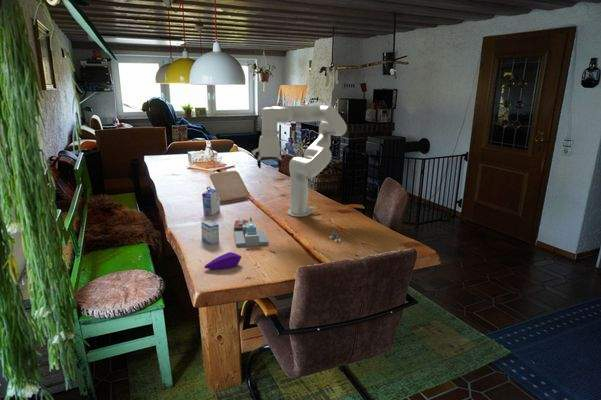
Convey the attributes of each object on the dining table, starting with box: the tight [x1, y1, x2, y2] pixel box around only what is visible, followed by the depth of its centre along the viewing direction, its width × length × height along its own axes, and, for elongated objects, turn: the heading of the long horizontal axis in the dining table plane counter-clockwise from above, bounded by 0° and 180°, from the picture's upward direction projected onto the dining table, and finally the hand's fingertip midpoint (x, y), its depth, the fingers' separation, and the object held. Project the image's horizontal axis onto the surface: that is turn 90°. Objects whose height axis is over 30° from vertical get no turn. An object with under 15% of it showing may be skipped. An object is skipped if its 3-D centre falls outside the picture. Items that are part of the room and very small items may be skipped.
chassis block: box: [233, 224, 269, 248], centre depth 183 cm, size 14×15×5 cm
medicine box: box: [200, 220, 220, 245], centre depth 180 cm, size 8×4×9 cm, turn 45°
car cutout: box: [329, 231, 341, 243], centre depth 182 cm, size 15×7×4 cm, turn 26°
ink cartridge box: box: [201, 185, 221, 217], centre depth 217 cm, size 10×6×14 cm, turn 164°
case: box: [209, 170, 250, 205], centre depth 245 cm, size 20×21×16 cm
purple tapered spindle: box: [204, 251, 242, 270], centre depth 156 cm, size 5×5×15 cm
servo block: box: [245, 222, 257, 235], centre depth 183 cm, size 4×10×8 cm, turn 13°
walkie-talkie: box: [233, 217, 253, 232], centre depth 199 cm, size 9×4×20 cm
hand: (269, 167), depth 201 cm, fingers open, 9 cm apart
